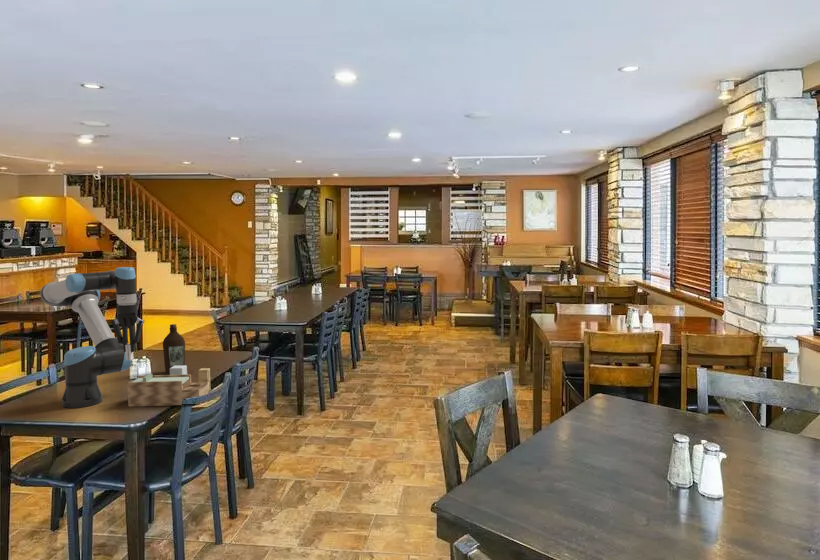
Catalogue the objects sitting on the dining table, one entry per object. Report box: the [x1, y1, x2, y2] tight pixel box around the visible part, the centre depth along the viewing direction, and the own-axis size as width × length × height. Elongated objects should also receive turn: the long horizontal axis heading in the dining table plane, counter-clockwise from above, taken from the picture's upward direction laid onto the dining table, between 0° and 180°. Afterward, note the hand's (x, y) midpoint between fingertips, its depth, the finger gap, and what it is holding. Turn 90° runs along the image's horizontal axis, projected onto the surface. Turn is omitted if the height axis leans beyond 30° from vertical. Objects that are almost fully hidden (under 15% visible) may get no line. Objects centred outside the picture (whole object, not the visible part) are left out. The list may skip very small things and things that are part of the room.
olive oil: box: [162, 323, 186, 375], centre depth 299 cm, size 11×11×25 cm
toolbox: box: [126, 373, 209, 407], centre depth 249 cm, size 29×12×10 cm, turn 93°
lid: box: [132, 373, 189, 384], centre depth 248 cm, size 21×9×3 cm, turn 93°
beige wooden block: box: [197, 367, 212, 393], centre depth 264 cm, size 4×4×10 cm
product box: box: [170, 364, 188, 375], centre depth 282 cm, size 6×6×7 cm
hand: (129, 359), depth 247 cm, fingers closed
